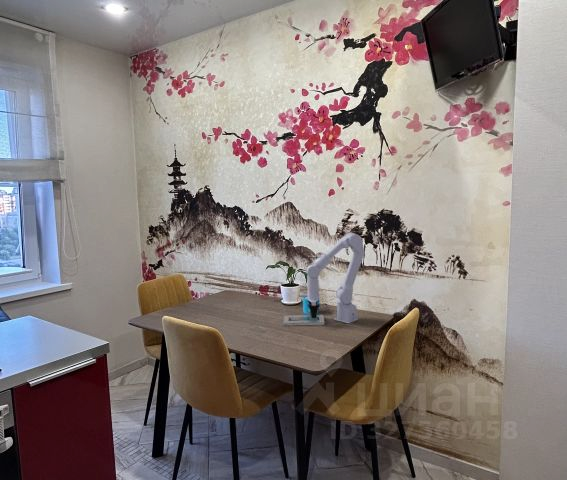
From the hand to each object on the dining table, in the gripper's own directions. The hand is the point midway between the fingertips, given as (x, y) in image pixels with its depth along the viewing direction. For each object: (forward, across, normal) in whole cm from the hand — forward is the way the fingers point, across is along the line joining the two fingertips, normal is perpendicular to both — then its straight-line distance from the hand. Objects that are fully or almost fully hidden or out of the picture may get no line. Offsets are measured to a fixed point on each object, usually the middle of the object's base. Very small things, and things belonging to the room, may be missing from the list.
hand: (313, 315), depth 200 cm
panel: (+3, 0, -5) cm, 6 cm away
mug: (+3, -18, 0) cm, 18 cm away
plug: (+3, 0, 0) cm, 3 cm away
